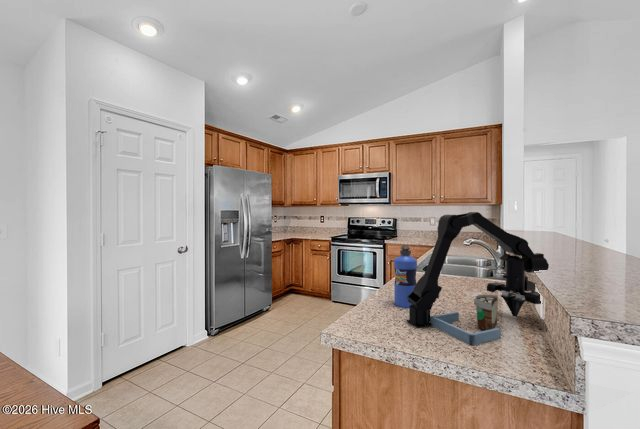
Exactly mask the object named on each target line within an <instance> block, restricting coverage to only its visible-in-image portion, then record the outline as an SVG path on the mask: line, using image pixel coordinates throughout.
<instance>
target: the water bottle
mask: <svg viewBox="0 0 640 429" xmlns="http://www.w3.org/2000/svg"><path fill="white" fill-rule="evenodd" d="M410 249H411V248H410V246H409V245H408V244H407V245H406V244H403V245H402V246H401V247H400V251H399V254H400V256H397V257H396V258H393V267H394V276H395V278H394V288H393V289H394V290H393V292H394V300H393V301H394V306H396V307H399V308H402V309H409V306H410V305H411V303H409V302H408V299H407V297H408V296H409V295H410V294H411V293H412V291H413V290H414V287H415V285H416V284H417V277H416V276H417V270H418V259H416V258H414V257H412V256H411V250H410Z"/></svg>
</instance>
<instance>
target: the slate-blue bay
mask: <svg viewBox="0 0 640 429" xmlns="http://www.w3.org/2000/svg"><path fill="white" fill-rule="evenodd" d="M459 316H460V313H459V312H458V311H453V312H452V311H451V312H446V313H442V314H436V315H430V323H431V324H432V325H431V326H430V327H433V328H435V329H437V330H440V331H441V332H444V333H445V334H448V335H449V336H451V337H454V338H456V339H458V340H460V341H462V342H464V343H466V344H468V345H470V346H471V347H472V346H478V345H481V344H484V343H489V342H492V341H496V340H497V341H498V340H501V339H502V338H501V337H502V328H499V327H496V328H495V329H490V330H486V331H482V330H480V331H478V332H477V331H476V332H474V333H473V332H470V331H467V330H465V329H462V328H461V327H458V326H456V325H453V324H451V323H454V322H459V321H460V320H459V319H460V317H459Z"/></svg>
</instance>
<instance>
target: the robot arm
mask: <svg viewBox="0 0 640 429" xmlns="http://www.w3.org/2000/svg"><path fill="white" fill-rule="evenodd" d="M437 223H438V224H437V239H436V242H435V245H434V247H433V250H432V251H431V252H432V253H431V256H430V259H429V261H428V263H427V266H426V269H425V272H424V274H423V275H422V276H421V277H420V278H419V279H418V280H417V281H416V285H415V287H414V290H413V291H412V293H411V294H410V295H409V296H408V297H407V299H408V302H409V303H411V305H410V306H409V308H408V309H409V315H408V316H409V318H408V319H406V323H408V324H411V326H414V327H416V328H421V329H422V328H425V327H432V326H431V325H432V324H431V323H430V316H431V310H432V308H433V305H434V303H435V302H436V301H437V299H439V298H440V293H441V292H442V291H443V290H442V289H443V288H442V286H441V285H439V278H440V274H441V272H442V269H443V267H444V264H445V262H446V259H447V255H448V254H449V250H450V248H451V245H452V243H453V241H454V240H455V239H456V238H458V236H459V235H460V233H461V231H462V230H463V228H466V227H469V226H472V225H473V226H474V227H475V228H477V229H478V230H480V231H481V232H483V233H485V234H486V235H487V236H489V237H490V238H492V239H493V240H495V241H496V242H497V244H498V245H499V247H500V248H501V249H502V250H503V251H504V252H505V253H504V254H503V255H501V256H500V257H499V260H502V261H505V274H503V275H502V277H503V278H504V279H505V283H501V282H499V281H498V282H497V281H496V282H489V283H487V285H486V291H487V292H491V293H495V292H497V291H498V292H501V294H500V298H502V299H503V300H504V302H505V303H506V306H507V307H508V310H509V311H510V313H511V315H512V317H515V318H516V317H518V316H519V313H520V310H521V308H522V307H523V306H524V304H525V303H526V302H527V303H530V304H534V305H542V304H541V301H540V294H539V293H540V292H539V291H536V288H535V284H536V283H535V282H533V281H530V280H529V277H528V276H527V275H526V273H531V274H533V272H534V271H539V270H547V271H548V270H549V263H548V260H547V259H546V258H545V254H544V253H542V252H541V253H539V252H537V253H534V252H533V250H532V249H531V247H530V246H529V242H528V241H527V240H526V239H524V238H522V237H520V236H518V235H516V234H512V233H509V232H507V231H505V230H504V229H503V228H501V227H500V226H498V225H497V224H495V223H494V222H493V221H491V220H489V219H488V218H486V217H485V216H483V215H482V214H481V212H478V211H470V212H466V213H461V214H444V215H442V216H440V218H439V220H438V222H437ZM511 254H513V255H511ZM538 292H539V293H538Z"/></svg>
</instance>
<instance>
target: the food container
mask: <svg viewBox="0 0 640 429" xmlns="http://www.w3.org/2000/svg"><path fill="white" fill-rule="evenodd" d="M498 303H499V296H498V295H497V294H478V295H476V296H475V298H474V302H473V304H474V305H475V307H476V308H475V309H476V318H477V319H476V320H477V327H478V328H477V329H479V330H480V331H486V330H490V329H495V328H497V326H498V306H499V305H498Z"/></svg>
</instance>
